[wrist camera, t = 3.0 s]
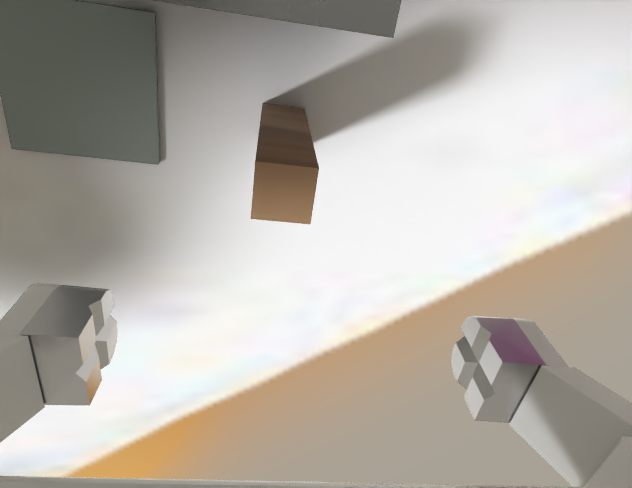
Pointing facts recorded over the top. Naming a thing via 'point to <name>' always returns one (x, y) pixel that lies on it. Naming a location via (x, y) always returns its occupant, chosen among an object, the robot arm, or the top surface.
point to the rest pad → (80, 79)
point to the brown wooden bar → (284, 167)
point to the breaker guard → (315, 12)
